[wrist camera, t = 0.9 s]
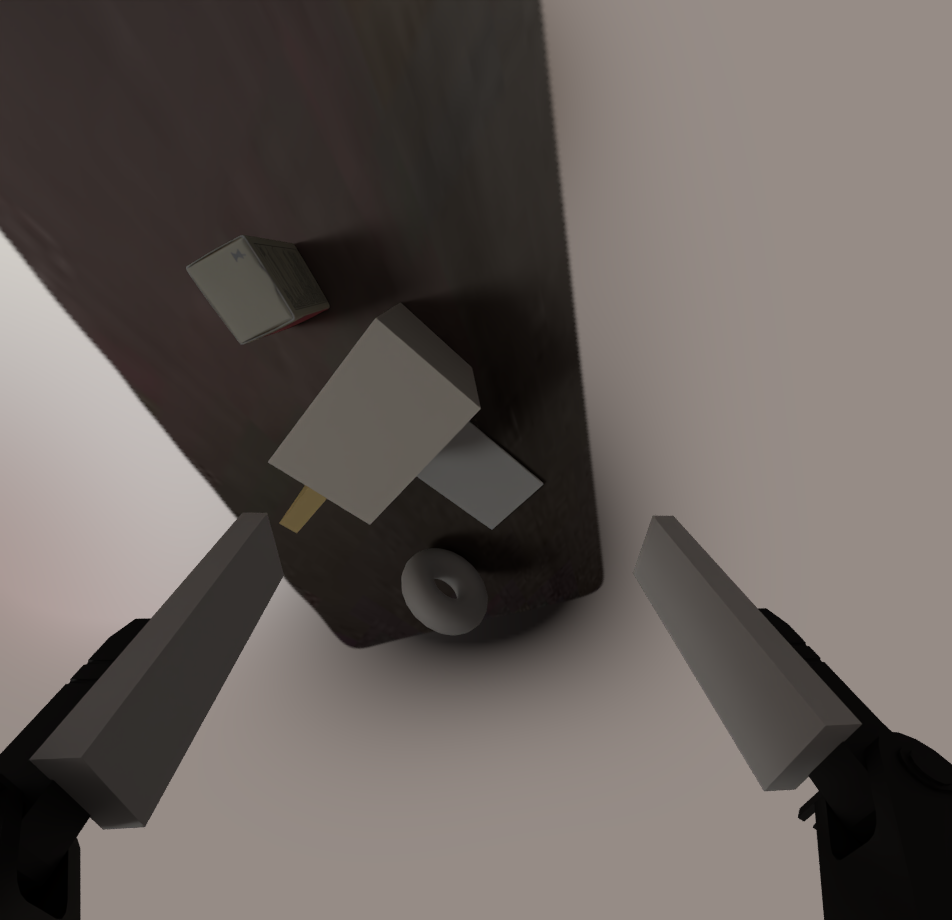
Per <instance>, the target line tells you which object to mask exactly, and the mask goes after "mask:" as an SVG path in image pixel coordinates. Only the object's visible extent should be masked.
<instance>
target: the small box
mask: <svg viewBox="0 0 952 920" xmlns="http://www.w3.org/2000/svg"><path fill="white" fill-rule="evenodd" d="M186 270H187V271H188V273H189V274H190V276H191V277H192V279H193V280H194V282H195V283H196V284H197V286H198V287H199V289H200V290H201V292H202V293H203V294H204V296H205V297H206V299H207V300H208V301H209V303H210V304H211V306H212V307H213V308H214V310H215V311H216V312H217V314H218V315H219V316H220V318H221V319H222V320H223V322H224V323H225V324H226V326H227V327H228V328H229V330H230V331H231V332H232V334H233V335H234V336H235V338H236V339H237V340H238V342H239V343H240V344H246V343H249V342H252V341H255V340H257V339H260V338H262V337H265V336H268V335H271V334H274V333H277V332H280V331H283V330H285V329H288V328H290V327H292V326H295V325H297V324H299V323H301V322H303V321H305V320H308V319H310V318H312V317H314V316H316V315H318V314H320V313H321V312H323V311H325V310H327V309H329V307H330V305H329V303H328V301H327V300H326V298H325V296H324V294H323V292H322V291H321V289H320V287H319V285H318V284H317V282H316V280H315V278H314V277H313V275H312V273H311V272H310V270H309V268H308V267H307V265H306V263H305V262H304V260H303V258H302V257H301V255H300V253H299V252H298V250H297V248H296V246H295V245H294V244H292V243H287V242H281V241H275V240H270V239H264V238H258V237H252V236H246V235H241V236H239V237H237V238H235V239H233V240H231V241H229V242H228V243H226V244H224V245H222V246H220V247H218V248H216V249H215V250H213V251H211V252H210V253H208V254H206V255H205V256H203V257H201V258H200V259H198V260H196V261H195V262H193V263H192V264H190V265H188V266H187V267H186Z"/></svg>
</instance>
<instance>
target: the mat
mask: <svg viewBox="0 0 952 920" xmlns="http://www.w3.org/2000/svg"><path fill="white" fill-rule="evenodd" d="M417 477H418V478H420V479H421V480H422V481H424V482H425V483H427V484H428V485H429V486H431V487H432V488H434V489H435V490H437V491H438V492H439V493H441V494H442V495H444V496H445V497H446V498H448V499H449V500H451V501H452V502H453V503H455V504H456V505H458V506H459V507H460V508H462V509H463V510H465V511H466V512H467V513H469V514H470V515H472V516H473V517H475V518H476V519H477V520H479V521H480V522H482V523H483V524H484V525H486V526H487V527H489V528H490V529H491V530H492V529H493V528H494V527H496V526H497V525H498V524H499V523H500V522H501V521H502V520H504V519H505V518H506V517H507V516H508V515H509V514H510V513H511V512H513V511H514V510H515V509H516V508H517V507H518V506H519V505H521V504H522V503H523V502H524V501H525V500H526V499H527V498H528V497H530V496H531V495H532V494H533V493H534V492H535V491H536V490H538V489H539V488H540V487H541V486H542V485H543V482H542V481H541V480H539V479H538V478H537V477H536V476H535V475H533V474H532V473H531V472H530V471H529V470H527V469H526V468H525V467H524V466H523V465H521V464H520V463H519V462H518V461H517V460H515V459H514V458H513V457H512V456H511V455H509V454H508V453H507V452H506V451H505V450H503V449H502V448H501V447H500V446H499V445H497V444H496V443H495V442H494V441H493V440H491V439H490V438H489V437H488V436H487V435H485V434H484V433H483V432H482V431H481V430H479V429H478V428H477V427H476V426H475V425H473V424H472V423H471V422H470V421H469V422H468V423H467V424H466V425H465V426H464V427H463V428H462V429H461V430H460V431H459V432H458V433H457V434H456V435H455V436H454V437H453V438H452V439H451V440H450V441H449V443H448V444H447V445H446V446H445V447H444V448H443V449H442V450H441V451H440V452H439V453H438V454H437V455H436V456H435V457H434V458H433V459H432V460H431V461H430V462H429V463H428V465H427V466H426V467H425V468H424V469H423V470H422V471H421V472H420V473H419V474H418V475H417Z"/></svg>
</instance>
